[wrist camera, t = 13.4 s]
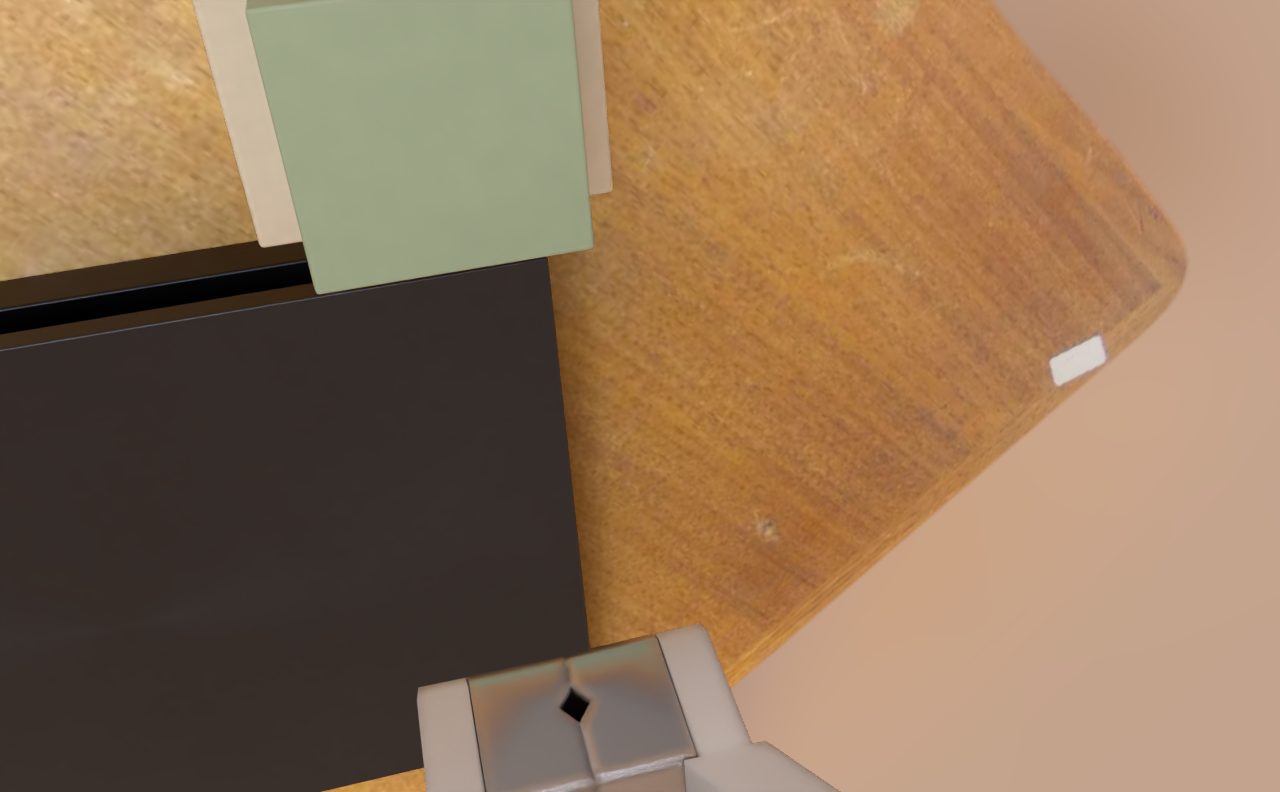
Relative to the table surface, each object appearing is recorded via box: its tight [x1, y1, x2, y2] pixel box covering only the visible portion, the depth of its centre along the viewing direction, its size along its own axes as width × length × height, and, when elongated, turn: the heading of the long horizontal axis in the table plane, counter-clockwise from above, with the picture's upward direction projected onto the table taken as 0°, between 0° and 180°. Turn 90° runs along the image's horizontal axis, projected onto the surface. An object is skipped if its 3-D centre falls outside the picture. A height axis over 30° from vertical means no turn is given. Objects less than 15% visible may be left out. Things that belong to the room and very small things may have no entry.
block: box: [245, 0, 594, 294], centre depth 19 cm, size 4×4×4 cm
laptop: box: [0, 241, 313, 335], centre depth 40 cm, size 22×30×2 cm
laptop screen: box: [0, 257, 590, 792], centre depth 38 cm, size 22×30×1 cm
